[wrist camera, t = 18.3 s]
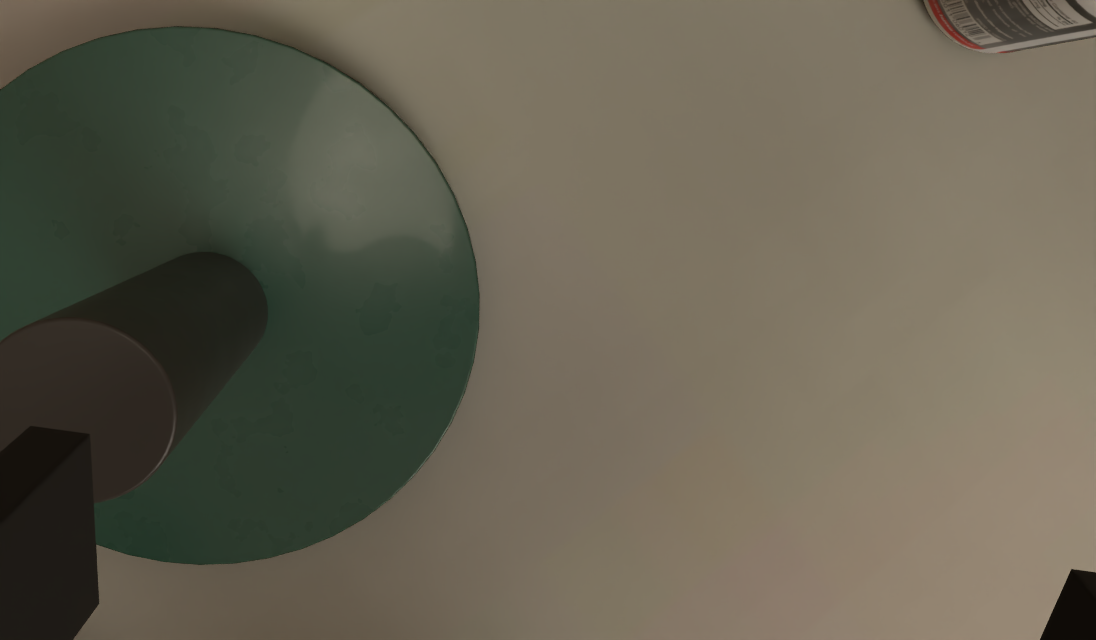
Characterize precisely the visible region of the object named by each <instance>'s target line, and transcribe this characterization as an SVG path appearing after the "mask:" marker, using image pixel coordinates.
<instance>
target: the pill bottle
mask: <svg viewBox="0 0 1096 640" xmlns="http://www.w3.org/2000/svg"><path fill="white" fill-rule="evenodd" d="M923 1H924V3H925V6H926V9H927V11H928V13H929V14H930V16H931V18H932V20H933V21H934V23H935V24H936V25H937V26H938V28H939V29H940V30H941V31H942V32H943V33H944V34H945V35H946V36H947V37H949V38H950V39H951V40H952V41H954V42H956V43H957V44H959V45H961V46H963V47H965V48H968V49H971V50H974V51H978V52H984V53H1007V52H1014V51H1020V50H1025V49H1031V48H1036V47H1043V46H1048V45H1054V44H1059V43H1065V42H1071V41H1077V40H1082V39H1088V38H1094V37H1096V0H923Z"/></svg>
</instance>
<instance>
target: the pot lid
mask: <svg viewBox="0 0 1096 640" xmlns="http://www.w3.org/2000/svg"><path fill="white" fill-rule="evenodd" d="M478 331H479V286H478V277H477V269H476V261H475V257H474V253H473V249H472V245H471V241H470V237H469V233H468V229H467V226H466V223H465V221H464V218H463V216H462V213H461V211H460V208H459V206H458V203H457V201H456V198H455V196H454V194H453V192H452V190H451V188H450V186H449V185H448V183H447V181H446V179H445V177H444V176H443V174H442V172H441V170H440V168H439V167H438V165H437V163H436V162H435V160H434V159H433V158H432V156H431V155H430V154H429V152H428V151H427V150H426V148H425V147H424V145H423V144H422V143H421V141H420V140H419V139H418V137H417V136H416V135H415V133H414V132H413V131H412V130H411V129H410V128H409V127H408V126H407V125H406V124H405V123H404V122H403V121H402V120H401V119H400V118H399V117H398V116H397V115H396V114H395V113H394V111H393V110H392V109H391V108H390V107H389V106H387V105H386V104H385V103H384V102H382V101H381V100H380V99H379V98H377V97H376V96H375V95H374V94H373V93H371V92H370V91H369V90H368V89H366V88H365V87H364V86H363V85H361V84H360V83H359V82H357V81H355V80H354V79H352V78H351V77H349V76H347V75H346V74H344V73H343V72H341V71H339V70H338V69H336V68H335V67H333V66H331V65H330V64H328V63H326V62H324V61H322V60H320V59H317V58H315V57H313V56H311V55H309V54H307V53H304V52H302V51H300V50H298V49H296V48H294V47H291V46H288V45H285V44H281V43H278V42H275V41H272V40H269V39H266V38H262V37H259V36H256V35H251V34H246V33H240V32H235V31H229V30H224V29H218V28H203V27H183V26H173V27H161V28H148V29H137V30H132V31H128V32H123V33H118V34H114V35H109V36H105V37H100V38H97V39H94V40H91V41H89V42H86V43H83V44H80V45H78V46H75V47H72V48H70V49H67V50H64V51H62V52H60V53H58V54H56V55H54V56H52V57H50V58H48V59H47V60H45V61H43V62H41V63H39V64H37V65H35V66H33V67H32V68H30V69H28V70H27V71H25V72H24V73H22V74H21V75H20V76H18V77H17V78H16V79H14V80H13V81H12V82H10V83H9V84H7V85H6V86H5V87H3V88H2V89H1V90H0V452H1V451H2V450H3V449H4V448H5V447H7V446H8V445H9V444H10V443H11V442H12V441H13V440H15V439H16V438H17V437H18V436H19V435H20V434H22V433H23V432H24V431H25V430H26V429H27V428H29V427H30V426H36V427H43V428H51V429H58V430H65V431H72V432H80V433H87V434H90V442H91V460H92V479H93V498H94V516H95V535H96V544H97V545H100V546H103V547H106V548H109V549H112V550H115V551H118V552H121V553H124V554H127V555H132V556H137V557H142V558H147V559H152V560H157V561H162V562H172V563H184V564H197V565H205V564H233V563H240V562H247V561H253V560H260V559H266V558H271V557H275V556H278V555H282V554H285V553H289V552H293V551H296V550H300V549H303V548H305V547H308V546H310V545H313V544H315V543H317V542H320V541H322V540H325V539H327V538H330V537H332V536H334V535H336V534H338V533H340V532H341V531H343V530H345V529H347V528H348V527H350V526H352V525H354V524H355V523H357V522H359V521H361V520H363V519H364V518H365V517H367V516H368V515H369V514H371V513H372V512H373V511H375V510H376V509H378V508H379V507H380V506H382V505H383V504H384V503H386V502H387V501H388V500H390V499H391V498H392V497H393V496H394V495H395V494H396V493H397V492H398V491H399V490H400V489H401V488H402V487H403V486H404V485H405V484H406V483H407V482H408V481H409V480H411V479H412V478H413V477H414V476H415V474H416V473H417V472H418V471H419V469H420V468H421V467H422V466H423V464H424V463H425V462H426V461H427V459H428V458H429V457H430V456H431V454H432V453H433V452H434V451H435V449H436V447H437V446H438V444H439V442H440V441H441V439H442V437H443V436H444V434H445V433H446V431H447V429H448V428H449V426H450V424H451V423H452V420H453V418H454V416H455V414H456V411H457V409H458V407H459V405H460V402H461V400H462V398H463V396H464V393H465V390H466V387H467V383H468V380H469V376H470V373H471V370H472V366H473V363H474V358H475V351H476V344H477V338H478Z"/></svg>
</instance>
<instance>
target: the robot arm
mask: <svg viewBox="0 0 1096 640" xmlns="http://www.w3.org/2000/svg"><path fill="white" fill-rule="evenodd" d="M98 604H99V591H98V572H97V554H96V535H95V516H94V498H93V479H92V460H91V442H90V434H87V433H80V432H72V431H65V430H58V429H51V428H43V427H36V426H30V427H29V428H27V429H26V430H25V431H24V432H23V433H22V434H20V435H19V436H18V437H17V438H16V439H15V440H13V441H12V442H11V443H10V444H9V445H8V446H7V447H5V448H4V449H3V450H2V451H1V452H0V640H73V639H74V637H75V636H76V635H77V633H78V632H79V630H80V629H81V628H82V626H83V625H84V624H85V622H86V621H87V619H88V618H89V617H90V615H91V614H92V613H93V611H94V610H95V609H96V607H97V606H98ZM1040 640H1096V573H1095V572H1088V571H1081V570H1074V569H1071V571H1070V574H1069V576H1068V578H1067V580H1066V583H1065V585H1064V587H1063V589H1062V591H1061V594H1060V596H1059V598H1058V600H1057V603H1056V605H1055V607H1054V609H1053V612H1052V614H1051V616H1050V618H1049V621H1048V623H1047V625H1046V627H1045V629H1044V632H1043V634H1042V636H1041V638H1040Z"/></svg>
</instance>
